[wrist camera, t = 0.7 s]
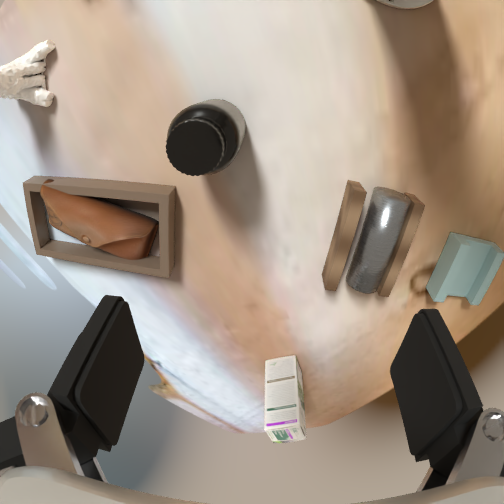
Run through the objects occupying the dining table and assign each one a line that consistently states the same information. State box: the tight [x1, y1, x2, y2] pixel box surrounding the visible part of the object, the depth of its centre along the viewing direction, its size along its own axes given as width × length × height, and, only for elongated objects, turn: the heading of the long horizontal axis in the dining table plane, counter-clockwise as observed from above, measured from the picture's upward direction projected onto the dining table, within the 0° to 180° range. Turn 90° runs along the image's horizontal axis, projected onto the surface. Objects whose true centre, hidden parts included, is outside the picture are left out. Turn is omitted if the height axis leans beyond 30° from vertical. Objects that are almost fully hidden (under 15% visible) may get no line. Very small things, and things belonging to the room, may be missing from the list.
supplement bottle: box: [166, 99, 246, 176], centre depth 29 cm, size 7×7×12 cm
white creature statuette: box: [0, 40, 56, 107], centre depth 25 cm, size 10×9×12 cm
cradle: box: [426, 232, 504, 305], centre depth 40 cm, size 10×10×4 cm
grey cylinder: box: [346, 187, 411, 293], centre depth 38 cm, size 13×5×5 cm, turn 172°
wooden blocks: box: [322, 180, 425, 297], centre depth 39 cm, size 14×10×4 cm
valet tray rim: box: [23, 176, 176, 278], centre depth 40 cm, size 12×23×3 cm, turn 82°
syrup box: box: [264, 355, 306, 443], centre depth 49 cm, size 6×6×14 cm
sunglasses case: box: [40, 179, 159, 260], centre depth 39 cm, size 18×7×7 cm, turn 68°
